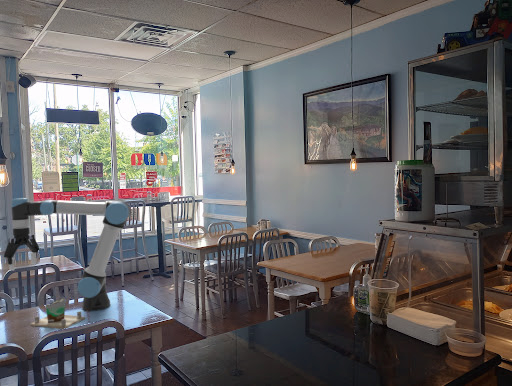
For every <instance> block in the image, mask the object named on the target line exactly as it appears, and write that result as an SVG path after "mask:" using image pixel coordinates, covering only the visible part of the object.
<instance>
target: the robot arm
mask: <svg viewBox="0 0 512 386" xmlns="http://www.w3.org/2000/svg"><path fill="white" fill-rule="evenodd" d="M10 208H11V215H12V219H11V220H12V228H13V229H12V235H13V236H14V237H13V238H8V242H7V243H8V244H7V245H6V249H5V252H4V254H3V258H6V259H7V264H8V268H9V269H8V270H9V271H11V272H12V271H13V272H14V271H15V257H14V256H15V254H16V252H17V250H18V249H19V248H20V247H21V246H27V248H28V249H29V250H30V251H31V252H30V259H31V265H33V266H34V265H38V264H37V258H38V253H39V251H41V248H40V246H39V244H38V242H37V241H36V238H35V235H34V234H30V233H31V232H30V217H31V216H37V217H38V216H50V215H53V214H57V215H58V214H60V215H61V214H62V215H82V216H83V215H84V216H97V217H98V216H102V217H103V220H102V224H103V227H102V229H101V233H100V236H99V238H98V241H97V244H96V247H95V249H94V252H93V255H92V257H91V259H90V262H89V266H87V267H85V268H84V269H83V272H82V276H81V279H80V280H79V281H78V282H77V287H76V288H77V292H78V294H79V295H80V296H82V297H83V301H82V304H81V307H82V310H84V311H89V312H90V311H91V312H92V311H100V310H104V309H106V308H109V307H110V306H111V300H110V298H109V295H108V293H107V292H108V291H107V270H106V268H107V266H108V262H109V261H110V257H111V254H112V253H113V250H114V247H115V244H116V241H117V239H118V236H119V233H120V231H122V230H123V229H124V228H125V225H126V223H127V220H128V218H129V217H130V216H131V215H130V214H131V206H130V205H129V204H128V202H126V201H123V200H106V201H105V202H98V201H97V202H96V201H78V200H77V201H76V200H59V199H57V200H56V199H49V198H48V199H43V200H39V201H38V200H37V201H29V200H28V198H27V197H25V198H24V197H20V198H19V197H18V198H12V199H11V207H10Z"/></svg>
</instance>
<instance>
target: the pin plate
mask: <svg viewBox="0 0 512 386" xmlns="http://www.w3.org/2000/svg"><path fill="white" fill-rule="evenodd" d="M85 319H86V316H83V315H82V311H77V312H76V315H71V314H65V315H64V319H62V320H61V321H58V322H54V323H48V319H47V316H45V317H43V318H41V319H40V316H39V315H36V316H34V321H33V322H31V323H30V325H31V326H33V327H34V326H35V327H41V328H50V329H51V328H52V329H60V330H65V329H67V328H69V327H72V326H73V325H76V324H78V323H80V322H81V321H83V320H85ZM64 328H65V329H64Z"/></svg>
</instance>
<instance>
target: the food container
mask: <svg viewBox="0 0 512 386" xmlns="http://www.w3.org/2000/svg"><path fill="white" fill-rule="evenodd" d="M66 304H67V301H66V299H65V298H64V297H60V298H59V299H58V300H55V301H53V302H51V303H48V304H45V308H44V309H46V317H47V319H48V323H54V322H58V321H61V320H62V319H64V315H66V314H65V309H66V307H65V306H66Z"/></svg>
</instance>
